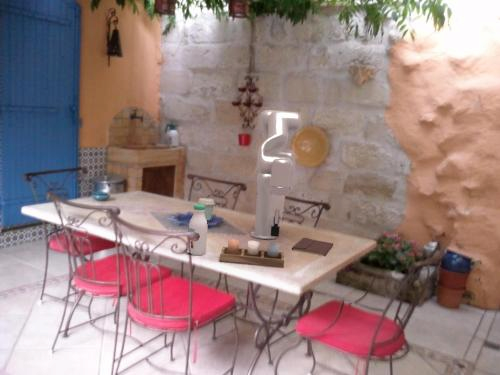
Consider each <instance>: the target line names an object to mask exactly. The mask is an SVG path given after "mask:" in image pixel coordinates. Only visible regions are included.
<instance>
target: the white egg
mask: <svg viewBox="0 0 500 375" xmlns="http://www.w3.org/2000/svg"><path fill="white" fill-rule="evenodd" d="M247 249H248V251H247V253H248V254H252V255H256V254H258V251H259V250H260V241H257V240H248V242H247Z"/></svg>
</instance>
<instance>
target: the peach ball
mask: <svg viewBox="0 0 500 375" xmlns="http://www.w3.org/2000/svg"><path fill="white" fill-rule="evenodd" d="M227 247H228V250H227V251H228V252H232V253H236V252H238V250H239V248H240V240H239V239H237V238H228V239H227Z"/></svg>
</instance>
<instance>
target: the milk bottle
mask: <svg viewBox="0 0 500 375" xmlns="http://www.w3.org/2000/svg"><path fill="white" fill-rule="evenodd" d="M204 211H205V205H202V204H199V203H196V204H194V205H193V214H192V217H191V218H190V219H189V224H188V229H187V233H188V232H196V233H199V235H200V238H199V240H198V241H196V242H193V241H191V242H190V243H191V254H192V256H203V255H205V254H206V252H207V241H208V229H209V228H208V224H207V220H206V218H205V214H204ZM191 254H190V255H191Z"/></svg>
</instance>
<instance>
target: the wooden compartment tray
mask: <svg viewBox="0 0 500 375" xmlns="http://www.w3.org/2000/svg"><path fill="white" fill-rule="evenodd" d="M227 250H228V246H223V247H222V249H221V251H220V255H219V262H220V263H226V264H227V263H228V264H239V265H240V264H241V265H249V266H259V267H268V268H269V267H270V268H279V269H284V268H285V266H284V265H285V253H284V252H283V251H279V253H278V256H276V257H273V256H269V255H267V252H268V250H264V249H263V250H262V249H261V250H260V249H259V251H258V254H256V255H252V254H248V253H247V251H248V248H240V247H239V250H238V252H236V253H232V252H228V251H227Z"/></svg>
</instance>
